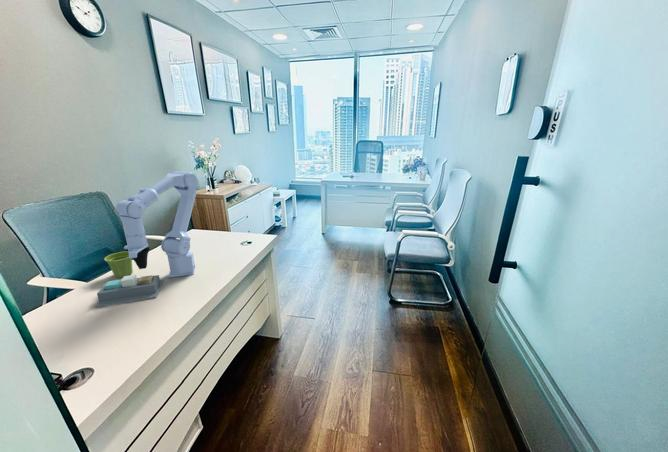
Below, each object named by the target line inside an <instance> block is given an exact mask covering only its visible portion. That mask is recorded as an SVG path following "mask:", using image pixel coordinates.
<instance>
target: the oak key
mask: <svg viewBox="0 0 668 452" xmlns="http://www.w3.org/2000/svg"><path fill="white" fill-rule="evenodd" d="M152 276H153V275H146V276H140V277H139V278H140V279H139V281H138V283H139V285H143V284H150V283H152V281H153V278H152Z"/></svg>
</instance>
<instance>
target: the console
mask: <svg viewBox="0 0 668 452" xmlns="http://www.w3.org/2000/svg"><path fill="white" fill-rule="evenodd" d="M136 278H137V284H136V286H130V287H122V283H121V286H120V287H119V288H116V289H109V290H105V285H106V284H107V282H108V281H106V282H105V283H104V284H103V286H102V287H101V288H100V289H99V290H98V291H97V293H96V295H97V298H98V301H97V302H96V304H95V305H94V308H96V309H97V308H102V307H109V306H114V305H115V306H116V305H120V304H126V303H127V304H128V303H133V302H139V301H144V300H150V299H156V298H157V297H158V295H159V292H160V291H161V288H162V285H163V284H164V279H161V278H160V275H159V274H157V275H152V278H153V281H152V283H150V284H143V285H139V283H138V281H139V279H140V277H136Z"/></svg>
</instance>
